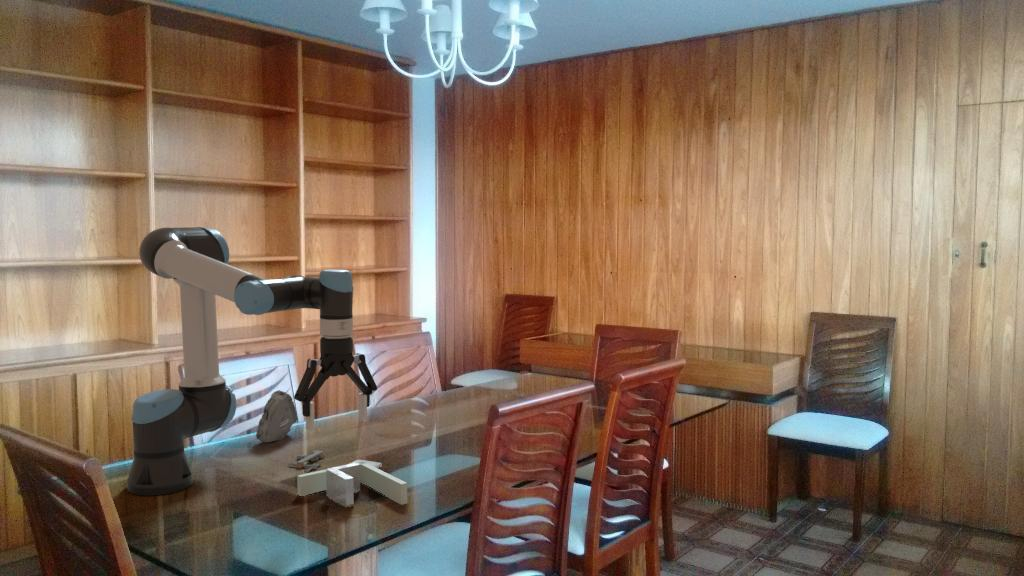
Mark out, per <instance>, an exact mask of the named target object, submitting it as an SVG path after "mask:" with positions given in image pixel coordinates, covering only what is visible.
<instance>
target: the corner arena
mask: <svg viewBox="0 0 1024 576" xmlns="http://www.w3.org/2000/svg"><path fill="white" fill-rule="evenodd" d="M358 464H360V484H361V483H362V484H361V485H363V484H365V485H367V486H369V487H371V488H373V489H375V490H376V491H378V492H380V493H382V494H383V495H382V494H381V495H382V496H384V495H385V496H384V497H385V498H387V497H388V499H389V500H391V501H393V502H395V503H397V504H399V505H401V506H403V505H407V504H408V482H406V481H404V480H402V479H401V478H397V476H393V475H392V474H390V473H388V472H385V471H383V470H381V469H380V468H376V467H373V466H371V465H369V464H367V463H365V462H359V463H358ZM326 469H327V468H325V469H322V470H321V469H320V470H318V471H316V470H315V471H312V472H307V473H303V474H302V473H301V474H297V476H296V477H297V478H296V479H297V483H296V484H297V496H298V495H299V496H304V497H306V496H305V495H308V494H312V493H315V492H319V491H323V490H327V489H326ZM365 485H364V486H365ZM367 486H366V487H367ZM369 487H368V488H369ZM371 488H370V489H371ZM376 491H375V492H376ZM378 492H377V493H378ZM380 493H379V494H380ZM312 495H313V494H312ZM299 496H298V497H299ZM308 496H309V495H308Z"/></svg>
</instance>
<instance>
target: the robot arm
mask: <svg viewBox="0 0 1024 576" xmlns="http://www.w3.org/2000/svg"><path fill="white" fill-rule="evenodd" d="M138 254H139V259H140V261H141V264H142V265H143V266H144V267H145V269H146V270H148V271H149V272H151V273H152V274H154V275H156V276H159V277H161V278H164V279H166V280H167V279H169V280H171V279H173V281H174V282H175V284H177V285H178V286H179V297H180V315H181V333H182V334H181V336H182V338H181V339H182V353H183V355H182V356H183V371H184V372H183V374H184V375H183V379H182V380H181V381H179V383H178V389H175V388H173V389H172V388H168V389H162V390H155V391H151V392H147V393H145V394H142V395H140V396H139V397H137V398H136V399H135V400H134V401H133V403H132V411H131V412H132V414H131V421H132V440H133V444H132V445H133V460H132V463H131V467H130V470H129V474H128V477H127V480H126V488H127V489H126V490H127V492H129V493H130V494H131V495H136V496H159V495H161V496H162V495H167V494H173V493H177V492H180V491H182V490H185V489H187V488H189V487H190V486H191V485H192V484H193V483H194V479H193V471H192V469H191V466H190V464H189V461H188V458H187V456H186V453H185V439H189V438H192V437H195V436H196V437H197V436H199V435H202V434H206V433H213V432H216V431H217V430H219V429H222V428H225V427H227V426H228V425H229V424H230V422H231V421H233V418H235V414H236V411H237V398H236V395H235V393H233V392H234V390H233V389H232V387H230V386H229V385H227V383H226V378H225V377H223V376H222V375H220V366H219V365H220V364H219V363H220V362H219V361H220V360H219V345H218V340H219V339H218V323H217V322H218V320H217V303H216V298H217V297H216V296H218V297H221V298H223V299H225V300H228V301H230V302H233V303H234V304H235V306H236V308H237V309H239V312H240V313H241V314H244V315H247V316H251V315H256V316H260V315H264V314H270V313H277V312H285V311H292V310H293V311H294V310H301V309H312V310H319V335H321V337H320V338H319V353H320V357H319V359H313V358H311V357H310V358H307V361H306V368H305V370H304V373H303V376H302V378H301V380H300V383H299V385H298V386H297V390H296V391H295V393H294V396H293V399H294V400H296V401H298V402H300V403H302V405H301V406H302V416H303V417H305V429H306V430H308V431H310V432H315V402H313V399H314V398H315V396H316V395H317V394H318V392H319V390H320V389H321V388H322V386H324V383H325V382H326V381H327V380H329V378H330V377H332V378H333V377H334V378H335V377H338V376H346V375H347V377H348V378H349V379H350V380H351V381H352V382H353V383H354V384H355V386H356V387H357V388H358V389H359V390H360V391H361V392H359V393H358V421H361V422H363V423H367V422H368V408H370V405H371V402H370V401H371V397H370V396H371V395H372V394H373V392H376V391H377V390H378V386H377V384H376V382H375V380H374V377H373V375H372V373H371V371H370V369H369V367H368V365H367V362H366V361H367V360H366V355H365V354H363V353H359V352H357V353H356V354H355V355H353V354H354V353H353V351H354V338H353V336H352V335H353V334H354V329H353V328H354V320H353V319H354V317H353V316H354V314H353V305H354V302H353V300H354V285H353V284H354V282H353V275H352V274H353V273H352V272H351V271H349V270H348V269H323V270H321V271H320V272H319V276H318V277H313V276H305V275H304V276H302V275H299V274H297V275H287V276H285V277H283V278H269V279H267V278H263V277H261V276H259V275H255V274H254V273H251V272H248V271H245V270H244V269H240V268H237V267H235V266H233V265H230V264H228V263H229V260H230V248H229V245H228V242H227V240H226V238H225V236H223V235H222V234H221V233H220V232H219V230H216V229H215V228H212V227H203V226H195V227H194V226H193V227H160V228H156V229H154V230H152V231H150V232H149V233H148V234H146V235H145V236H144V238H143V239H142V241H141V243H140V246H139V251H138ZM353 363H355V364H356V365H357V367H358V369H359V372H360V374H361V376H362V377H363V379H361V377H360V376H359V375H358V374H357V373H356V371H355V369H354V368H353V367H352V365H353ZM319 366H320V367H321V368H320V370H319V371H318V373H317V375H316V377H315V378H314V376H315V374H316V371H317V369H318V368H319ZM313 379H314V380H313ZM363 380H364V381H363ZM312 381H313V382H312ZM311 382H312V383H311Z"/></svg>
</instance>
